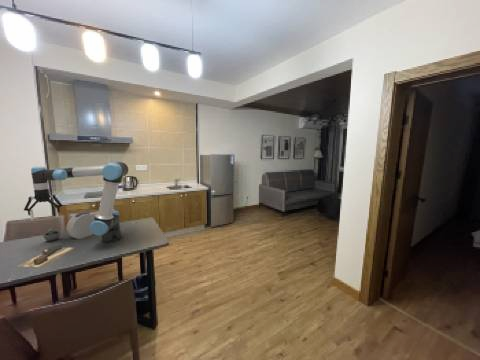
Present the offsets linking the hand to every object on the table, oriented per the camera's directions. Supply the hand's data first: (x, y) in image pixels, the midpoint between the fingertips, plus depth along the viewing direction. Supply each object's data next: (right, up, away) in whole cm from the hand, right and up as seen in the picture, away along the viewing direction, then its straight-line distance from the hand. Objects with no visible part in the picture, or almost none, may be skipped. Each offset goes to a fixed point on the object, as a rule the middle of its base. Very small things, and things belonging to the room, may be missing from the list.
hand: (45, 218), depth 148 cm
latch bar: (+9, -23, -5) cm, 25 cm away
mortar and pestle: (-7, -21, +14) cm, 27 cm away
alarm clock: (+8, -20, +27) cm, 34 cm away
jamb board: (+11, -25, -9) cm, 29 cm away
